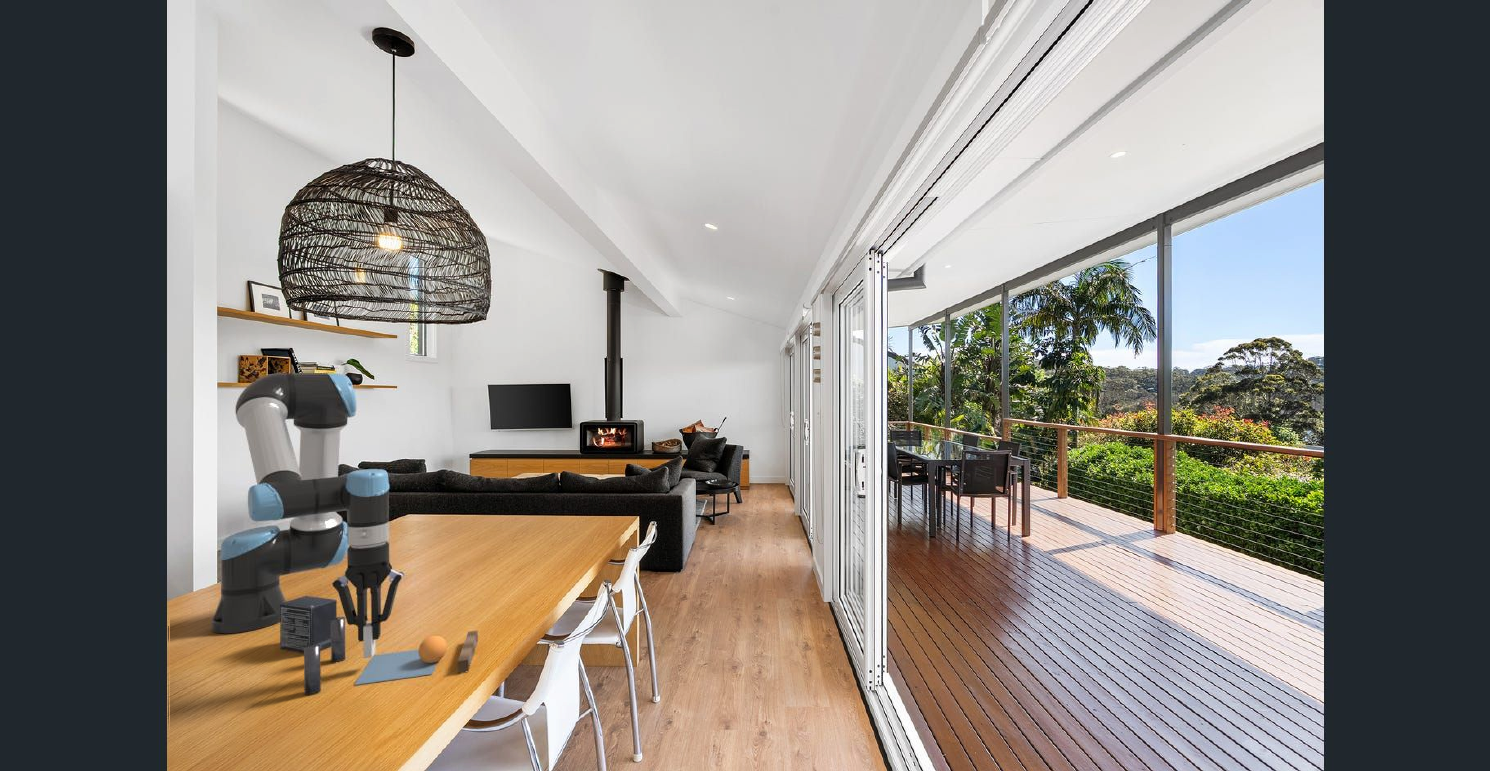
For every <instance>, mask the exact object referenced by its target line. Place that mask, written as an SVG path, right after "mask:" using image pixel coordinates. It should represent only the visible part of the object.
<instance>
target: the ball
mask: <svg viewBox="0 0 1490 771" xmlns="http://www.w3.org/2000/svg"><path fill="white" fill-rule="evenodd" d="M418 650H419V651H418V653H419V657H420V659H421V660H422V661H424V662H426V663H435V662H437V661H438V662H439V661H441V659H443V658H444V657H445V655H446V653H447V650H448V644H447V641H446V640H445V638H443V637H442V636H440V635H430V636H428V637H427V638H425V639H424V640H422V642H421V643H420V644H419V648H418ZM438 662H437V663H438Z"/></svg>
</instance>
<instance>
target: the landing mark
mask: <svg viewBox="0 0 1490 771" xmlns="http://www.w3.org/2000/svg"><path fill="white" fill-rule="evenodd" d="M418 651H419V649H412V650H404V651H397V652H389V653H382V654H374V655H373V656H372V657H371V659H370V661H369V662H368V664H367V666H365V668H364V669H363V671H362V672H361V674H360V676H359V677H358V678H357V680H356V682H355V683H354V687H355V686H360V685H361V686H362V685H368V684H376V683H384V682H390V681H397V679H399V680H404V679H410V678H419V676H420V677H426V676H425V675H427V676H432V675H433V674H434V671H435V669H436V667H435V666H437V664H438V663H439V661H437V662H435V663H426V662H424V661H422V660H421V659H420V657H419V653H418ZM431 674H432V675H431Z"/></svg>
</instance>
